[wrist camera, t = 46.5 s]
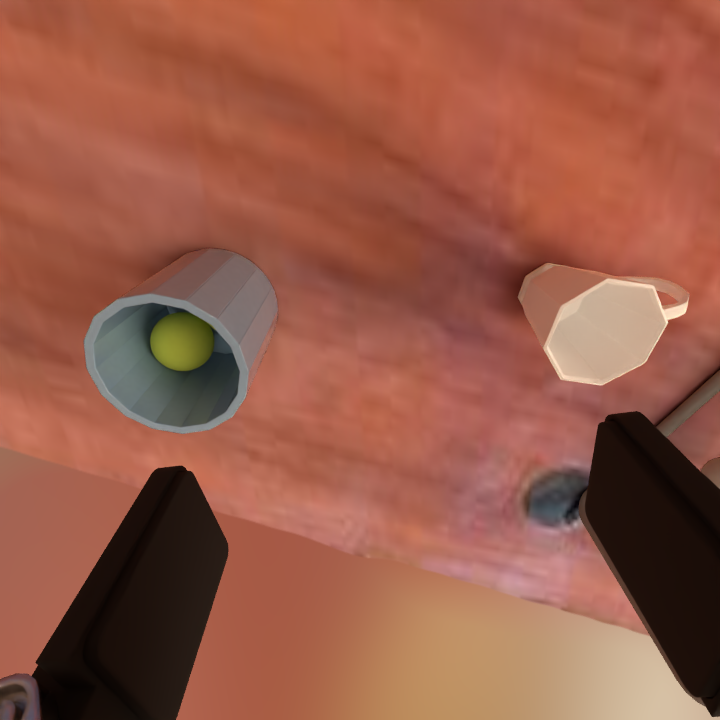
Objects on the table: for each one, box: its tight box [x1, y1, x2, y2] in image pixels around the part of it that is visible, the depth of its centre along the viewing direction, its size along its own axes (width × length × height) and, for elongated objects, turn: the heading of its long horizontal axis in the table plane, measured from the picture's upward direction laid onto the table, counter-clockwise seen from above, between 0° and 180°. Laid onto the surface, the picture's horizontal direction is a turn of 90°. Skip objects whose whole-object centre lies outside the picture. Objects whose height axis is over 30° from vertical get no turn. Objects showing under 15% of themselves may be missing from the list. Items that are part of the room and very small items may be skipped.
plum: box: [150, 312, 214, 371], centre depth 27 cm, size 4×4×4 cm
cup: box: [518, 263, 689, 385], centre depth 27 cm, size 7×10×8 cm
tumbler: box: [84, 248, 278, 434], centre depth 26 cm, size 9×9×10 cm
